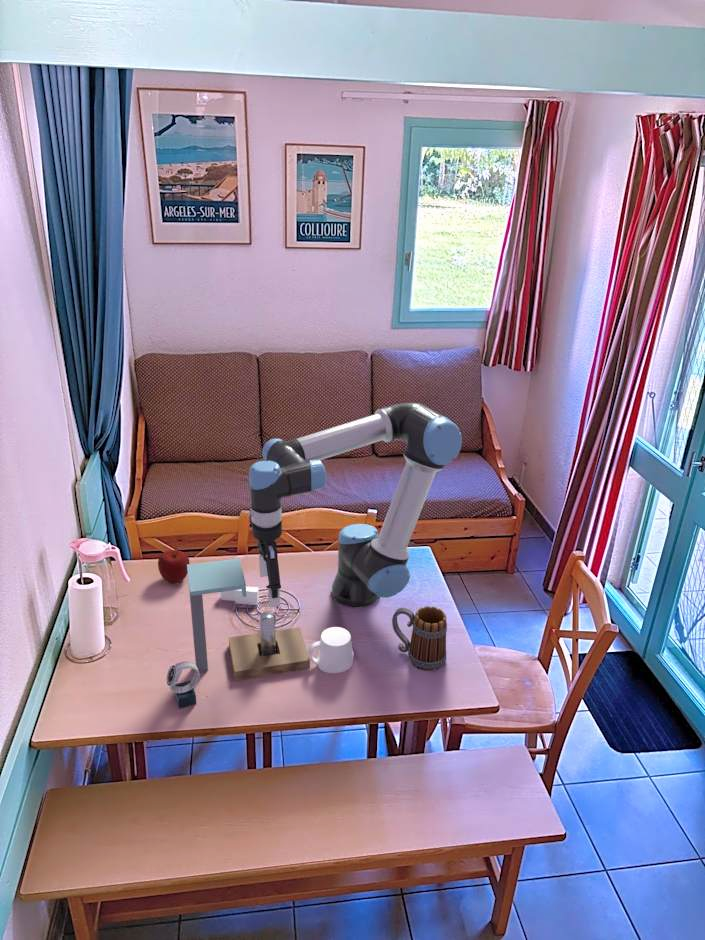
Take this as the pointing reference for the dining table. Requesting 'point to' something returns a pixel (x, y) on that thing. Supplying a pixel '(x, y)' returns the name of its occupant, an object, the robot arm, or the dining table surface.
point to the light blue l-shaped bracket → (204, 582)
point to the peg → (267, 633)
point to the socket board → (253, 665)
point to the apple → (173, 566)
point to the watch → (183, 684)
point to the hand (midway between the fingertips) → (269, 590)
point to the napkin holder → (237, 596)
